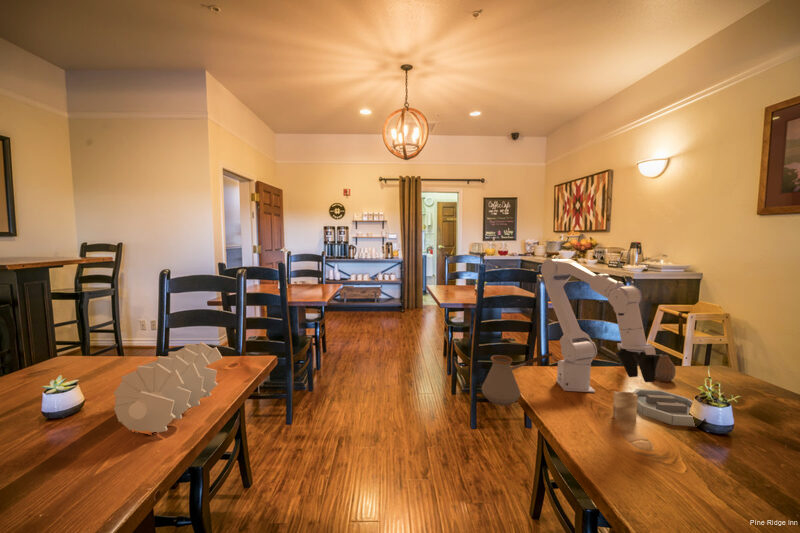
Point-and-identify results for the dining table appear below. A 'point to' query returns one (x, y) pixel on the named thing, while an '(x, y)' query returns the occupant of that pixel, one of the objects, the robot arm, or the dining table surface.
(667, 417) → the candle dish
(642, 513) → the dining table surface
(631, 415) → the pine wood chunk
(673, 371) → the vase
